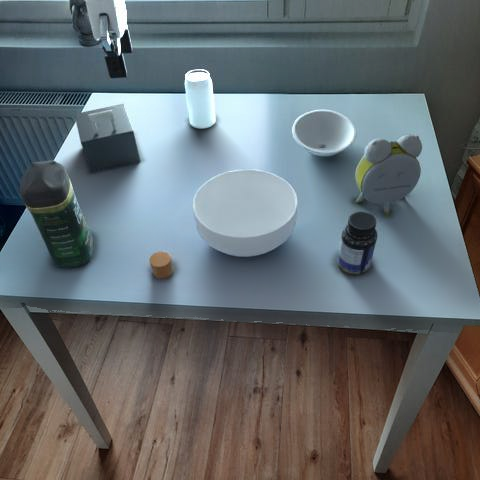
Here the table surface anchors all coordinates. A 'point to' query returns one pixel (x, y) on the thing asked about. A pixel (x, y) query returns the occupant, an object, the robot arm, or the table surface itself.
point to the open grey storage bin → (111, 153)
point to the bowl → (245, 212)
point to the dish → (324, 132)
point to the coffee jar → (57, 213)
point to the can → (200, 99)
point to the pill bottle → (357, 243)
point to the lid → (103, 124)
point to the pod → (161, 264)
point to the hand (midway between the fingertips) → (121, 64)
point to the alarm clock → (389, 170)
